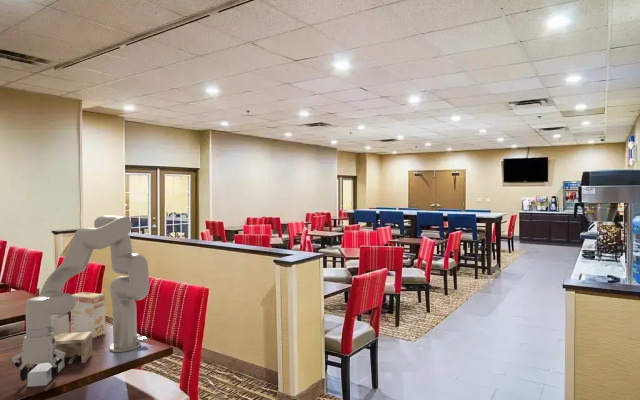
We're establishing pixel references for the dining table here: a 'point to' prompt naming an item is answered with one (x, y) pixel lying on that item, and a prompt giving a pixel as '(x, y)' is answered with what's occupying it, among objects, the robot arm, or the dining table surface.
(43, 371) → the white rectangular block
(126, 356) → the dining table surface
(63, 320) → the milk carton
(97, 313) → the coffeecake box
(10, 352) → the dining table surface
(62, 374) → the dining table surface
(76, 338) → the beige wooden bench
